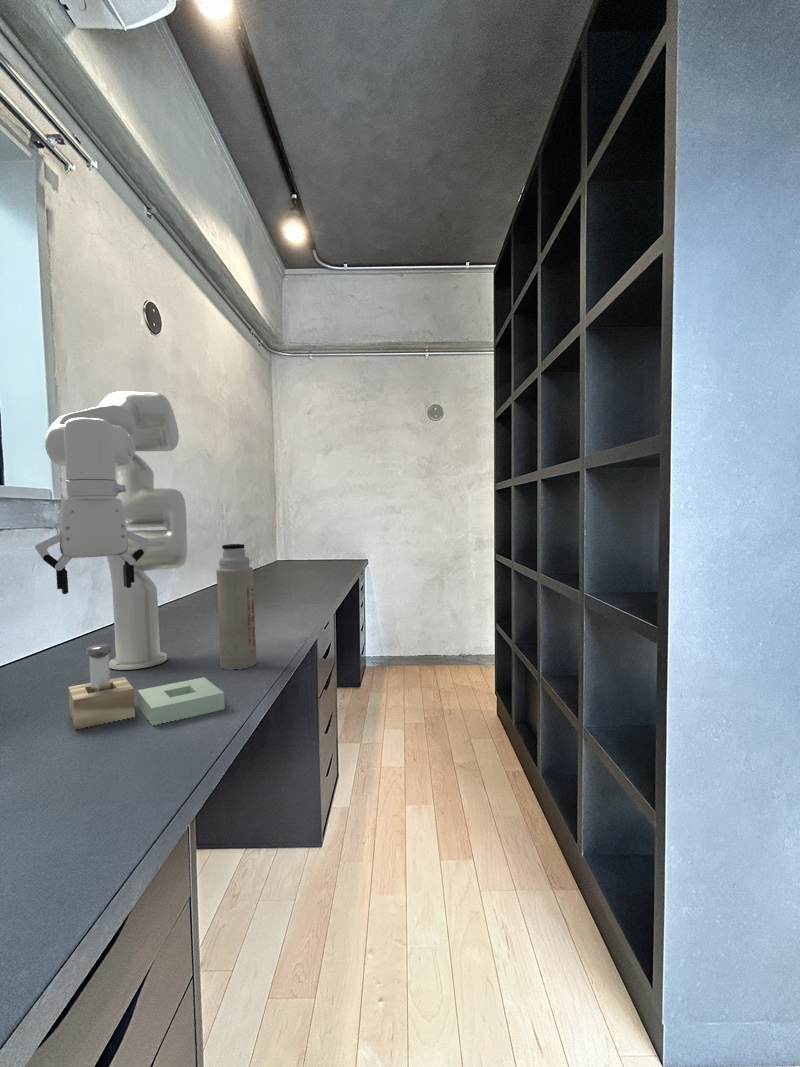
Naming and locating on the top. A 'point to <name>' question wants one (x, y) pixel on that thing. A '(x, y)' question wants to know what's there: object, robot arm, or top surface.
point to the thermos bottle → (236, 609)
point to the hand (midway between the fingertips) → (97, 590)
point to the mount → (101, 703)
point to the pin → (99, 667)
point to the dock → (180, 700)
